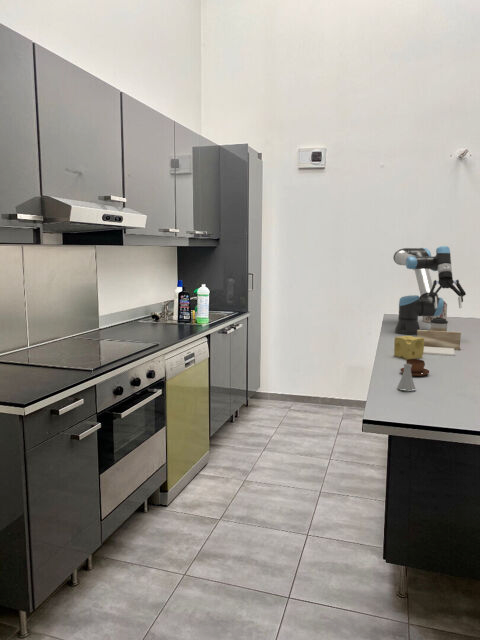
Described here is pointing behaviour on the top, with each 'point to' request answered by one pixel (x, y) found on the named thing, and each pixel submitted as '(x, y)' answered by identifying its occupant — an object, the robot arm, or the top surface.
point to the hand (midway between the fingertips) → (448, 308)
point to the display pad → (439, 351)
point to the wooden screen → (440, 339)
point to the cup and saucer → (416, 367)
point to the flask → (406, 378)
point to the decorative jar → (443, 315)
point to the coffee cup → (439, 324)
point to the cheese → (409, 347)
